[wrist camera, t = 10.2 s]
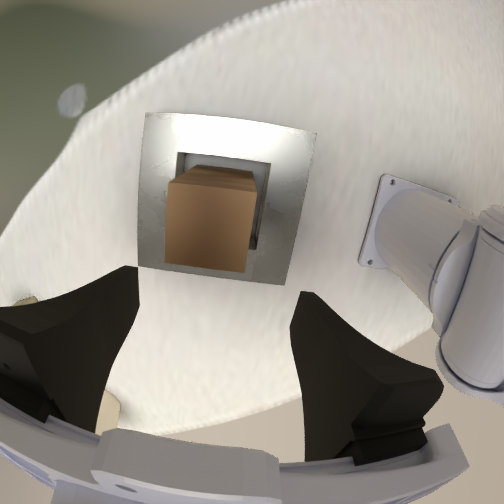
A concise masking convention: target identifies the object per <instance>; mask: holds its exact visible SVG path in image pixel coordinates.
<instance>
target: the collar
mask: <svg viewBox="0 0 504 504" xmlns="http://www.w3.org/2000/svg"><path fill="white" fill-rule="evenodd" d="M315 139H316V133H313V132H309V131H304V130H299V129H295V128H290V127H284V126H279V125H273V124H268V123H262V122H255V121H248V120H241V119H234V118H225V117H216V116H206V115H193V114H177V113H146V115H145V123H144V131H143V140H142V149H141V160H140V174H139V191H138V266H141V267H147V268H154V269H161V270H167V271H174V272H181V273H188V274H195V275H203V276H210V277H218V278H226V279H233V280H241V281H250V282H258V283H266V284H275V285H284V284H285V280H286V276H287V272H288V268H289V264H290V259H291V255H292V251H293V246H294V242H295V237H296V233H297V228H298V224H299V219H300V215H301V210H302V205H303V200H304V196H305V191H306V186H307V181H308V176H309V171H310V166H311V160H312V155H313V150H314V144H315ZM185 152H187V153H197V154H207V155H216V156H224V157H232V158H240V159H247V160H254V161H260V162H266V163H268V164H267V169H266V175H265V181H264V187H263V193H262V199H261V205H260V211H259V216H258V222H257V228H256V234H255V237H250V242H249V248H248V254H247V261H246V267H245V273H238V272H230V271H222V270H214V269H206V268H199V267H191V266H184V265H176V264H169V263H165V227H166V207H167V192H168V182H170V181H171V180H173V179H174V178H176V177H178V176H179V175H181V174H183V168H184V159H185Z"/></svg>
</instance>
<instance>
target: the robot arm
mask: <svg viewBox="0 0 504 504" xmlns="http://www.w3.org/2000/svg"><path fill="white" fill-rule="evenodd" d="M392 179H393V184H392V185H391V184H390V181H391V180H392ZM448 200H449V202H448ZM370 259H371V261H370V262H369V263H368V260H370ZM359 264H360V265H361V266H363V267H370V268H378V269H386V270H393V271H394V272H395V273H396V274H397V275H398V276H399V277H400V278H401V279H402V280H403V281H404V282H405V283H406V284H407V285H408V287H409V288H410V289H411V290H412V291H413V292H414V293H415V294H416V295H417V296H418V298H419V299H420V300H421V301H422V302H423V303H424V304H425V305H426V307H427V308H428V309H429V310H430V311H431V312H432V313H433V323H432V326H431V327H432V328H433V329H434V331H435V332H436V333H437V334H438V336H439V337H440V339H439V341H438V343H437V346H436V351H435V357H436V361H437V365H438V367H439V370H440V371H441V373H442V375H443V376H444V378H445V379H446V380H447V381H448V382H449V383H450V384H451V385H452V386H453V387H454V388H456V389H457V390H459V391H460V392H462V393H464V394H466V395H469V396H472V397H477V398H483V399H488V400H491V401H493V402H496V403H497V404H499V405H501V406H502V407H504V207H502V206H498V205H492V206H490V207H489V208H487V209H486V210H482V211H481V213H480V216H479V217H478V216H476V215H474V214H472V213H470V212H468V211H466V210H464V209H462V208H460V207H459V201H458V200H457V199H455V198H453V197H450V196H448V195H445V194H443V193H440V192H437V191H435V190H432V189H429V188H427V187H424V186H421V185H418V184H415V183H412V182H409V181H406V180H403V179H400V178H397V177H394V176H391V175H387V174H385V175H383V176H382V177H381V180H380V185H379V189H378V193H377V197H376V201H375V205H374V209H373V213H372V216H371V220H370V224H369V227H368V231H367V234H366V238H365V241H364V244H363V247H362V251H361V254H360V257H359ZM139 306H140V302H139V283H138V267H132V266H126V265H125V266H123V267H120V268H118V269H116V270H114V271H112V272H110V273H108V274H107V275H105V276H103V277H101V278H99V279H97V280H95V281H93V282H91V283H89V284H87V285H85V286H82V287H80V288H78V289H76V290H74V291H71V292H69V293H66V294H63V295H61V296H58V297H55V298H51V299H47V300H44V301H40V302H36V303H31V304H26V305H19V306H10V307H0V455H1V456H3V457H4V458H5V459H7V460H8V461H9V462H11V463H12V464H14V465H15V466H17V467H18V468H19V469H21V470H22V471H24V472H25V473H27V474H29V475H30V476H32V477H33V478H35V479H37V480H38V481H40V482H42V483H44V484H45V485H47V486H49V487H50V488H52V489H54V494H53V497H52V501H51V504H407V503H410V502H412V501H415V500H417V499H419V498H422V497H424V496H426V495H428V494H430V493H432V492H434V491H435V490H437V489H439V488H440V487H442V486H443V485H445V484H447V483H448V482H450V481H451V480H453V479H454V478H455V477H457V476H458V475H460V474H461V473H463V472H464V471H466V470H467V469H468V468H469V464H468V462H467V459H466V457H465V455H464V453H463V451H462V449H461V447H460V444H459V442H458V440H457V438H456V436H455V434H454V432H453V430H452V428H451V426H450V424H445V425H442V426H439V427H436V428H433V429H431V430H429V431H427V432H425V433H424V432H423V429H422V427H424V426H425V421H424V419H423V416H424V415H425V414H426V413H427V412H428V411H429V410H430V409H431V408H432V407H433V405H434V404H435V403H436V402H437V401H438V399H439V398H440V396H441V394H442V392H443V388H444V385H443V383H442V381H441V379H440V378H439V376H438V375H437V373H436V371H435V370H433V369H430V368H427V367H424V366H421V365H418V364H415V363H412V362H410V361H408V360H405V359H403V358H401V357H399V356H397V355H395V354H393V353H391V352H389V351H387V350H385V349H383V348H382V347H380V346H378V345H377V344H375V343H373V342H372V341H371V340H369V339H368V338H366V337H365V336H363V335H362V334H361V333H359V332H358V331H357V330H355V329H354V328H353V327H352V326H350V325H349V324H348V323H347V322H346V321H345V320H343V319H342V318H341V317H340V316H339V315H338V314H337V313H336V312H335V311H334V310H333V309H331V308H330V307H329V306H328V305H327V304H326V303H325V302H324V301H323V300H322V299H321V298H320V297H319V296H318V295H316V294H315V293H314V292H305V291H301V292H300V295H299V298H298V302H297V305H296V308H295V311H294V315H293V318H292V321H291V324H290V339H291V347H292V352H293V356H294V361H295V365H296V369H297V373H298V378H299V382H300V387H301V392H302V401H303V413H304V427H305V428H304V429H305V462H296V463H279V461H278V458H276V457H275V456H273V455H271V454H269V453H267V452H264V451H262V450H255V449H248V448H241V447H229V446H218V445H208V444H201V443H193V442H186V441H181V440H175V439H170V438H164V437H160V436H155V435H151V434H146V433H142V432H138V431H133V430H126V429H120V428H116V429H112V430H107V431H103V432H102V435H101V436H100V435H97V434H95V431H96V424H97V419H98V414H99V409H100V405H101V401H102V397H103V393H104V390H105V386H106V383H107V380H108V377H109V374H110V371H111V368H112V365H113V363H114V361H115V358H116V356H117V354H118V352H119V350H120V348H121V346H122V344H123V343H124V341H125V339H126V337H127V335H128V333H129V331H130V329H131V327H132V325H133V323H134V320H135V318H136V315H137V312H138V309H139Z"/></svg>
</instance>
